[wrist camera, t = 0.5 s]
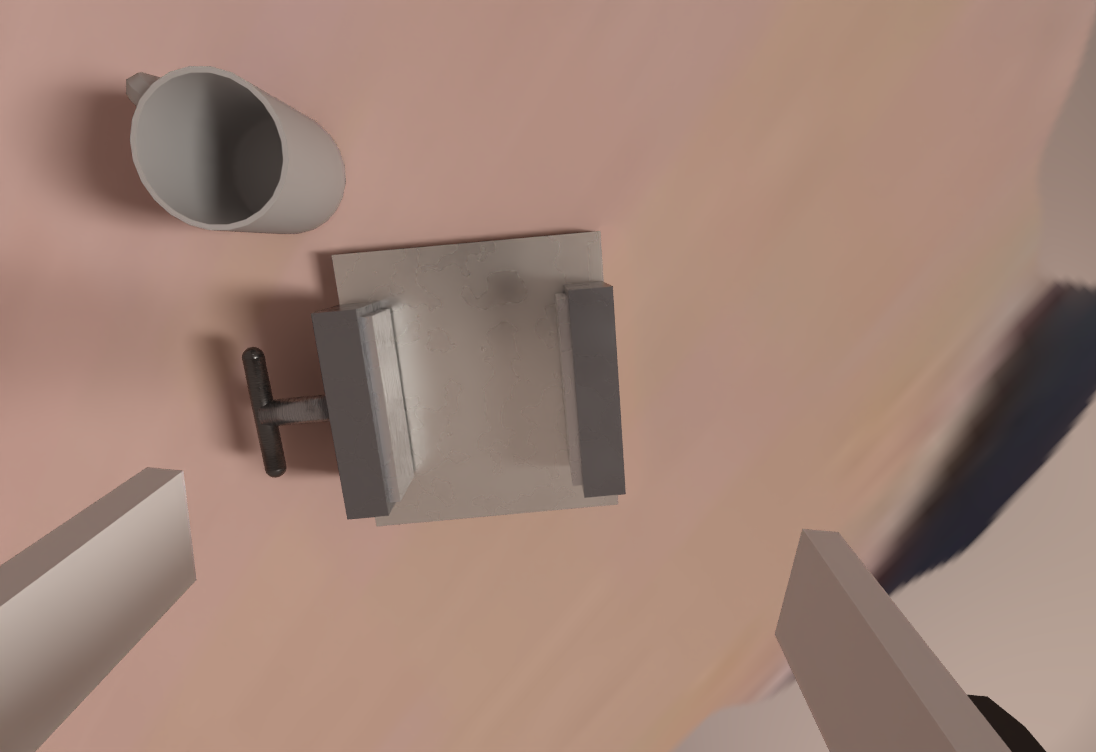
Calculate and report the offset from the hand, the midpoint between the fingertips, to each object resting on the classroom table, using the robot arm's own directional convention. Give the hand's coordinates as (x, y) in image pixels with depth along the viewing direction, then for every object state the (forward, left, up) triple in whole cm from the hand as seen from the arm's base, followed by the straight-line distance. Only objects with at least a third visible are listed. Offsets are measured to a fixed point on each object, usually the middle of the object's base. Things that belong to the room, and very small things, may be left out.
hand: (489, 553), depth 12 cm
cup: (-13, -14, -27) cm, 33 cm away
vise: (+2, -5, -26) cm, 27 cm away
